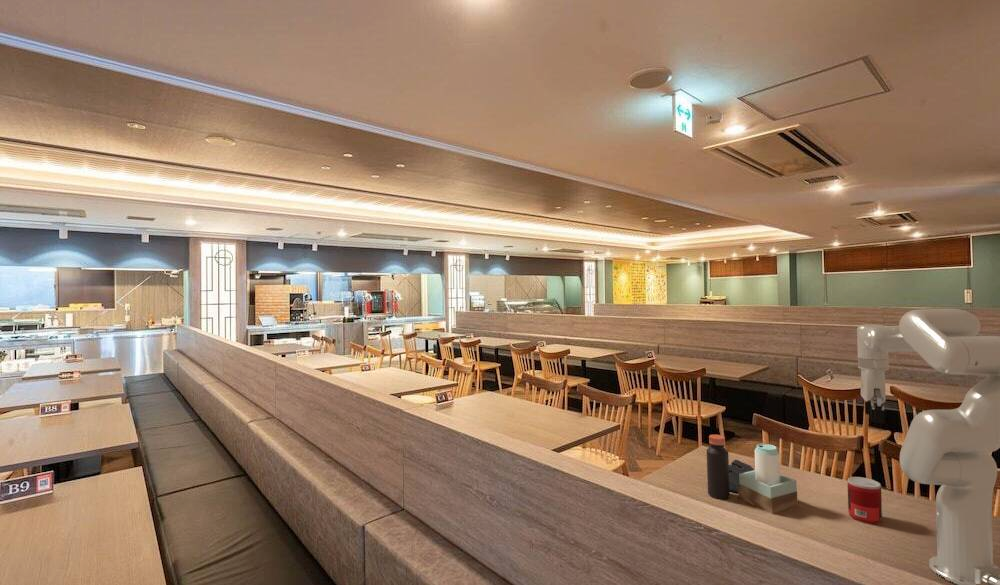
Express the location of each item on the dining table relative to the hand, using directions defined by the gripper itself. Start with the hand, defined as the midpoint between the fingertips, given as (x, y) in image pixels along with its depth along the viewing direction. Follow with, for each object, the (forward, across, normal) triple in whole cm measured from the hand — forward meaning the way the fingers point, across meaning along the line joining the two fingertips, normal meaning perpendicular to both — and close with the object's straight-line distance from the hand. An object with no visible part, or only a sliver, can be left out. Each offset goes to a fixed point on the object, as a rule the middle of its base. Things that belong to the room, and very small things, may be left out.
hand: (874, 418), depth 145 cm
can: (+22, +9, -30) cm, 38 cm away
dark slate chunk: (+29, -4, -40) cm, 49 cm away
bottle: (+28, +11, -44) cm, 54 cm away
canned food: (+28, +9, -4) cm, 30 cm away
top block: (+24, +9, -30) cm, 39 cm away
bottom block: (+29, +9, -30) cm, 42 cm away
